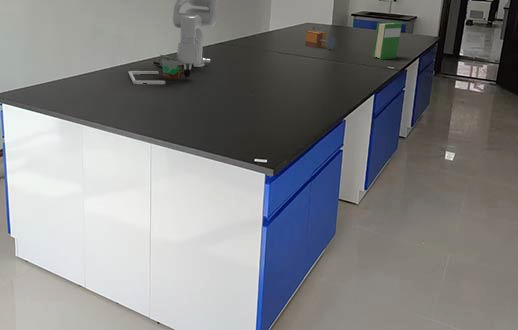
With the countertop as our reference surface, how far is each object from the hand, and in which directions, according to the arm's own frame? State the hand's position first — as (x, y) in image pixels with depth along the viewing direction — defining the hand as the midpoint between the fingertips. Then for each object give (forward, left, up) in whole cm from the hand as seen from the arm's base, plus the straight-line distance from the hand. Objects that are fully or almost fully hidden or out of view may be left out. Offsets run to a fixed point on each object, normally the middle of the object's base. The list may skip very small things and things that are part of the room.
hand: (186, 76), depth 291 cm
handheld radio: (+4, -26, -2) cm, 26 cm away
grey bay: (+20, 0, -1) cm, 20 cm away
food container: (+9, 0, -1) cm, 9 cm away
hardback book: (-155, -67, -1) cm, 169 cm away
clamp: (-121, -103, -2) cm, 159 cm away
